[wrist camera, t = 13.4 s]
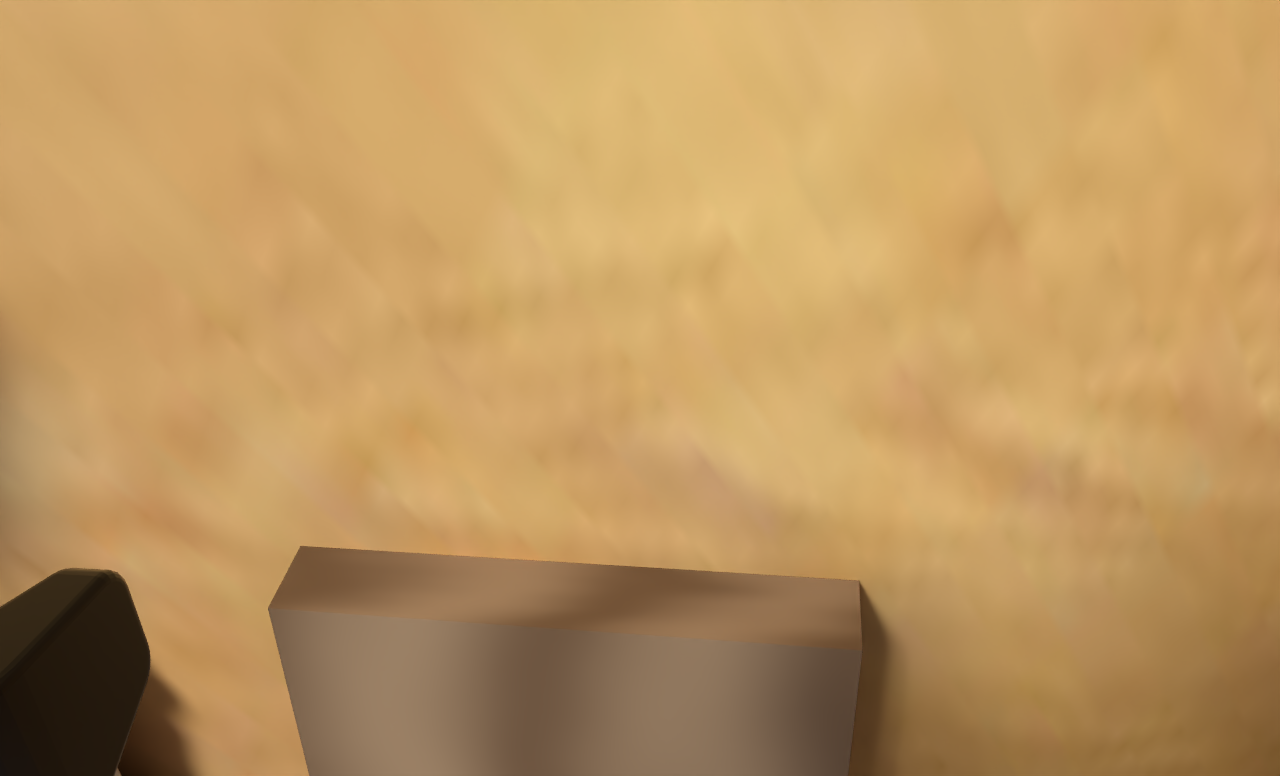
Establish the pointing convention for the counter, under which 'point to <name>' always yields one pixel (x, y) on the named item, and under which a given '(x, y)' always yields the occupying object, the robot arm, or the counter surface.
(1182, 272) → the counter surface
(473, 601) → the walnut block
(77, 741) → the robot arm
